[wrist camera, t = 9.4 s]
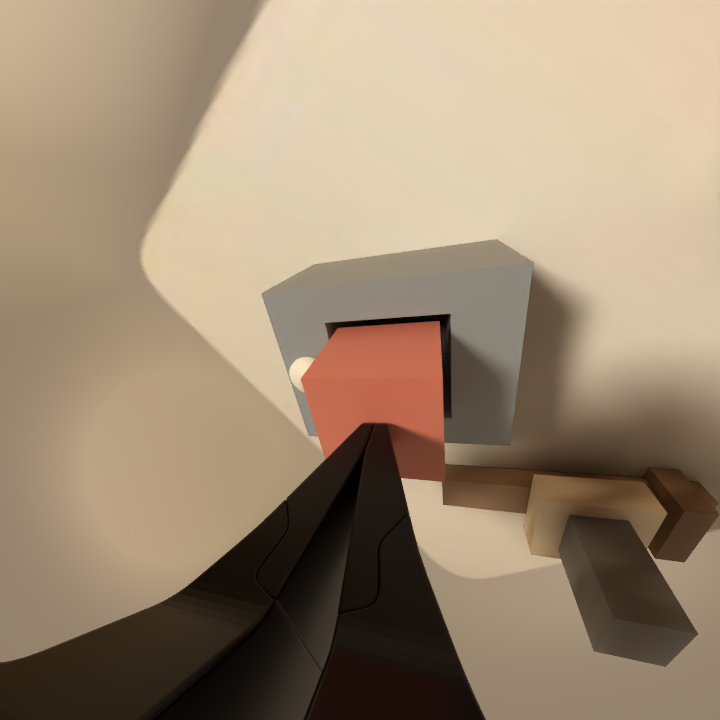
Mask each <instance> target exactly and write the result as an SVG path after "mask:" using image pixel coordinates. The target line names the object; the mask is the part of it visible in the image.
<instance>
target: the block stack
mask: <svg viewBox="0 0 720 720" xmlns="http://www.w3.org/2000/svg"><path fill="white" fill-rule="evenodd" d="M667 514H668V513H667V512H666V511H665V509H664V508H663V507H662V505H661V504H660V503H659V501H658V500H657V499H656V497H655V496H654V495H653V493H652V492H651V491H650V489H649V488H648V487H647V485H646V484H645V483H644V482H634V481H620V480H606V479H592V478H579V477H565V476H551V475H537V474H534V476H533V481H532V486H531V491H530V496H529V501H528V507H527V512H526V517H525V522H524V530H525V534H526V537H527V541H528V544H529V548H530V552H531V555H538V556H545V557H552V558H559V559H561V560H562V563H563V566H564V568H565V571H566V574H567V577H568V579H569V583H570V585H571V588H572V591H573V594H574V597H575V599H576V602H577V605H578V608H579V611H580V613H581V616H582V619H583V622H584V625H585V628H586V630H587V633H588V636H589V639H590V642H591V644H592V647H593V650H594V651H596V652H600V653H605V654H609V655H614V656H619V657H623V658H628V659H632V660H637V661H642V662H647V663H651V664H656V665H660V666H667V665H668V664H669V662H671V661H672V660H673V659H674V658H675V657H676V656H677V655H678V654H679V653H680V652H681V650H683V649H684V648H685V647H686V646H687V645H688V644H689V643H690V641H692V640H693V638H695V637H696V636H697V635H698V633H697V631H696V630H695V628H694V627H693V625H692V623H691V622H690V620H689V618H688V617H687V615H686V613H685V612H684V610H683V608H682V607H681V605H680V604H679V602H678V600H677V599H676V597H675V595H674V594H673V592H672V590H671V589H670V587H669V585H668V584H667V582H666V581H665V579H664V577H663V576H662V574H661V573H660V571H659V569H658V568H657V566H656V564H655V563H654V561H653V560H652V558H651V556H650V554H649V553H648V551H647V548H648V546H649V544H650V543H651V541H652V539H653V537H654V536H655V534H656V532H657V531H658V529H659V527H660V526H661V524H662V522H663V520H664V519H665V517H666V515H667Z"/></svg>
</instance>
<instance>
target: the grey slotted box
mask: <svg viewBox="0 0 720 720" xmlns="http://www.w3.org/2000/svg"><path fill="white" fill-rule="evenodd" d="M532 270H533V262H532V261H530V260H529V259H527V258H525V257H524V256H522V255H521V254H519V253H517V252H516V251H514V250H513V249H511V248H510V247H508V246H506V245H505V244H503V243H502V242H500V241H498V240H497V239H496V240H489V241H482V242H474V243H467V244H460V245H453V246H445V247H438V248H431V249H424V250H416V251H409V252H402V253H395V254H387V255H380V256H373V257H366V258H358V259H351V260H344V261H337V262H330V263H322V264H315V265H312V266H310V267H309V268H307V269H305V270H303V271H301V272H299V273H298V274H296V275H294V276H292V277H290V278H289V279H287V280H285V281H283V282H281V283H279V284H278V285H276V286H274V287H272V288H270V289H268V290H267V291H265V292H263V293H261V294H262V297H263V300H264V303H265V306H266V309H267V312H268V315H269V318H270V321H271V324H272V327H273V330H274V333H275V336H276V339H277V342H278V345H279V348H280V351H281V354H282V357H283V360H284V363H285V366H286V369H287V372H288V375H289V378H290V381H291V384H292V387H293V390H294V393H295V396H296V399H297V402H298V405H299V408H300V411H301V414H302V417H303V420H304V423H305V426H306V429H307V432H308V435H309V436H318V434H317V431H316V427H315V424H314V421H313V418H312V415H311V411H310V408H309V405H308V402H307V399H306V395H305V392H304V389H303V386H302V382H301V377H302V376H303V375H304V373H305V372H306V371H307V369H308V368H309V367H310V365H311V364H312V363H313V361H314V360H315V358H316V357H317V356H318V354H319V353H320V352H321V350H322V349H323V348H324V346H325V345H326V344H327V342H328V341H329V340H330V338H331V337H332V335H333V334H334V333H335V331H336V330H337V329H338V328H344V327H359V326H365V325H364V320H371V319H384V318H398V317H412V316H425V315H439V314H446V355H441V356H442V375H443V412H444V443H464V444H485V445H506V446H510V443H511V435H512V427H513V419H514V411H515V403H516V396H517V388H518V380H519V372H520V364H521V356H522V348H523V341H524V333H525V325H526V317H527V309H528V301H529V293H530V286H531V278H532Z"/></svg>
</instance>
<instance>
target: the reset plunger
mask: <svg viewBox="0 0 720 720" xmlns="http://www.w3.org/2000/svg"><path fill="white" fill-rule="evenodd" d="M301 382H302V386H303V389H304V392H305V395H306V399H307V402H308V405H309V408H310V411H311V415H312V418H313V421H314V424H315V427H316V431H317V434H318V437H319V440H320V443H321V447H322V450H323V453H324V456H325V459H326V458H327V457H328V456H329V455H330V454H331V453H332V452H333V451H334V450H335V449H336V448H337V447H338V446H339V445H340V444H341V443H342V442H343V441H344V440H345V439H346V438H347V437H348V436H350V435H351V434H352V433H353V432H354V431H355V430H356V429H357V428H358V427H359V426H360V425H361V424H362V423H374V424H376V423H385V424H388V427H389V431H390V435H391V439H392V444H393V448H394V452H395V456H396V460H397V465H398V469H399V473H400V477H401V478H407V479H419V480H431V481H442V482H445V451H444V412H443V375H442V356H441V337H440V321H433V322H418V323H403V324H388V325H374V326H359V327H344V328H338V329H337V330H336V331H335V333H334V334H333V335H332V337H331V338H330V340H329V341H328V342H327V344H326V345H325V346H324V348H323V349H322V350H321V352H320V353H319V354H318V356H317V357H316V358H315V360H314V361H313V363H312V364H311V365H310V367H309V368H308V369H307V371H306V372H305V373H304V375H303V376H302V377H301Z"/></svg>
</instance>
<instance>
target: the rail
mask: <svg viewBox="0 0 720 720" xmlns="http://www.w3.org/2000/svg"><path fill="white" fill-rule="evenodd" d="M534 474H537V475H551V476H565V477H579V478H592V479H606V480H620V481H634V482H644V483H645V484H646V485H647V487H648V488H649V489H650V491H651V492H652V493H653V495H654V496H655V497H656V499H657V500H658V501H659V503H660V504H661V505H662V507H663V508H664V509H665V511H666V512H667V513H668V514H667V515H666V517H665V519H664V520H663V522H662V524H661V526H660V527H659V529H658V531H657V532H656V534H655V536H654V537H653V539H652V541H651V543H650V544H649V546H648V548H649V549H650V551H651V553H652V554H653V556H654V558H656V559H663V560H671V561H678V562H685V561H686V560H687V558H688V557H689V555H690V554H691V553H692V551H693V550H694V549H695V547H696V546H697V544H698V543H699V542H700V540H701V539H702V538H703V536H704V535H705V534H706V532H707V531H708V529H709V528H710V527H711V525H712V524H713V523H714V521H715V520H716V518H717V517H718V516H719V514H718V513H717V511H716V510H715V508H716V506H717V505H718V504H719V503H718V502H717V501H716V500H715V499H714V498H713V497H712V496H711V495H710V494H709V493H708V491H707V490H706V489H705V488H704V487H703V486H702V485H701V484H700V483H699V482H693V481H688V479H687V478H686V477H685V476H684V475H683V474H682V473H681V472H680V471H679V470H674V469H657V468H649V471H648V473H647V475H646V477H645V478H635V477H620V476H606V475H591V474H577V473H563V472H548V471H534V470H519V469H505V468H490V467H476V466H461V465H447V464H445V482H442V487H443V505H451V506H460V507H469V508H479V509H488V510H497V511H506V512H516V513H525V514H526V512H527V507H528V501H529V496H530V491H531V486H532V481H533V476H534Z"/></svg>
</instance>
